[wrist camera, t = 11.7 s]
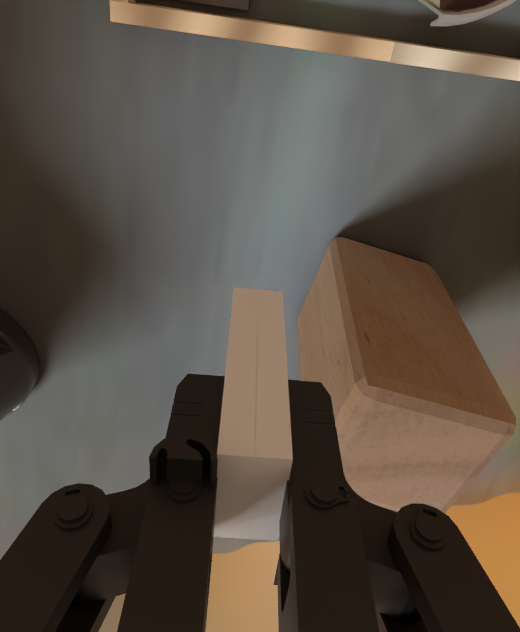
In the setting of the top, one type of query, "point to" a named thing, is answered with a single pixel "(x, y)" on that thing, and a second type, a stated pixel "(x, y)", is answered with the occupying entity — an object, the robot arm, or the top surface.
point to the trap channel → (310, 38)
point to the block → (399, 378)
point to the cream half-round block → (463, 10)
